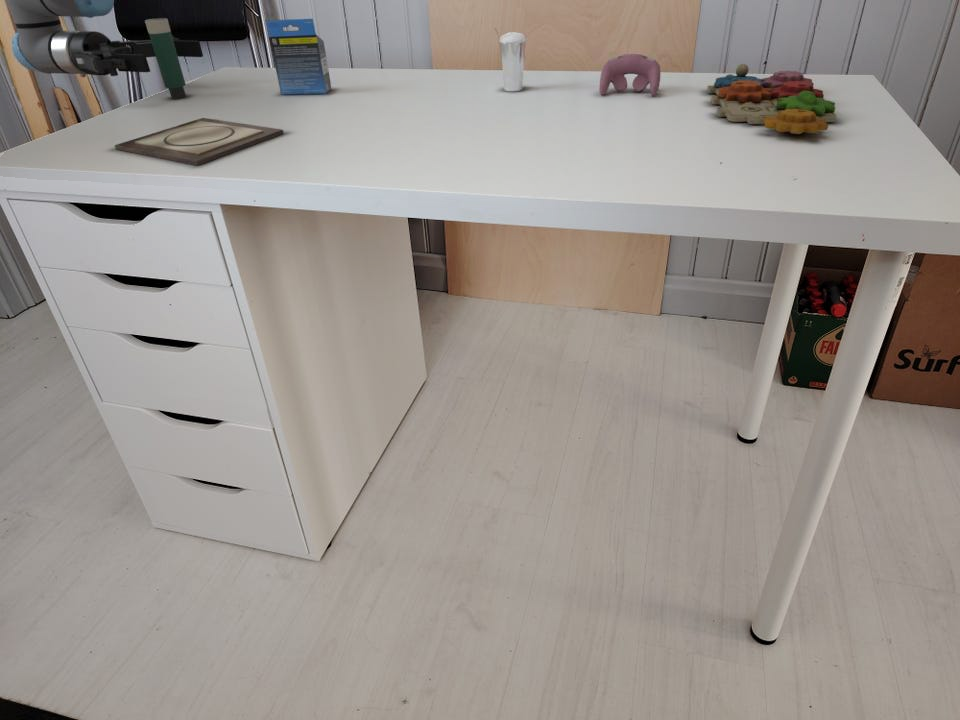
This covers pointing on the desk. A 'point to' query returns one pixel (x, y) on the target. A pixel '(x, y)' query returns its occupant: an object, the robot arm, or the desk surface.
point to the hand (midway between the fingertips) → (174, 55)
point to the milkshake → (512, 59)
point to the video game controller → (630, 65)
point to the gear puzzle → (773, 101)
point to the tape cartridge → (299, 57)
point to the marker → (166, 56)
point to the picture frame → (199, 140)
